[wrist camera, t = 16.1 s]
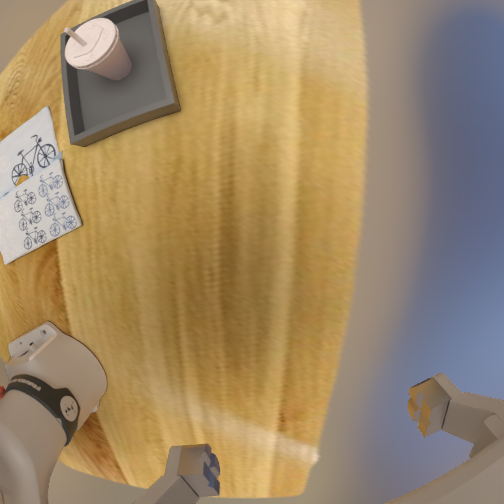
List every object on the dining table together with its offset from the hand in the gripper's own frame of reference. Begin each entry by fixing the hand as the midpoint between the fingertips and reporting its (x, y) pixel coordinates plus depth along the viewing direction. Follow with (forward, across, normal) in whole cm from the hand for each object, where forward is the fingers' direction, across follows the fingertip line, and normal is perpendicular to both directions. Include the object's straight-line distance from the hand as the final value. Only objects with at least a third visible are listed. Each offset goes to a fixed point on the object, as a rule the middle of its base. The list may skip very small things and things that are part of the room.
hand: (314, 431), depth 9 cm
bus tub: (+29, +12, -29) cm, 43 cm away
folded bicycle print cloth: (+30, +32, -19) cm, 48 cm away
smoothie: (+28, +12, -29) cm, 42 cm away
